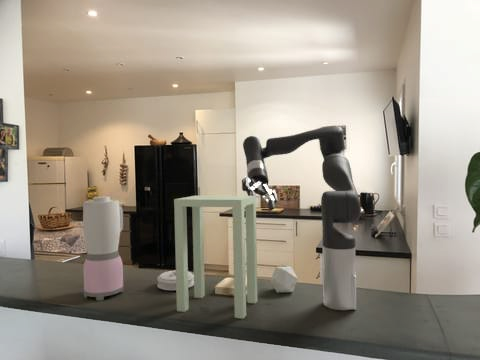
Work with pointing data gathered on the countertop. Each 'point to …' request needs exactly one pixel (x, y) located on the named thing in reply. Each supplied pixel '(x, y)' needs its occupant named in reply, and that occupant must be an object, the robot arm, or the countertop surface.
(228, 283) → the cheese board
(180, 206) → the mint green side table
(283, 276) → the die
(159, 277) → the lid
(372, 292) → the countertop surface
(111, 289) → the blender
